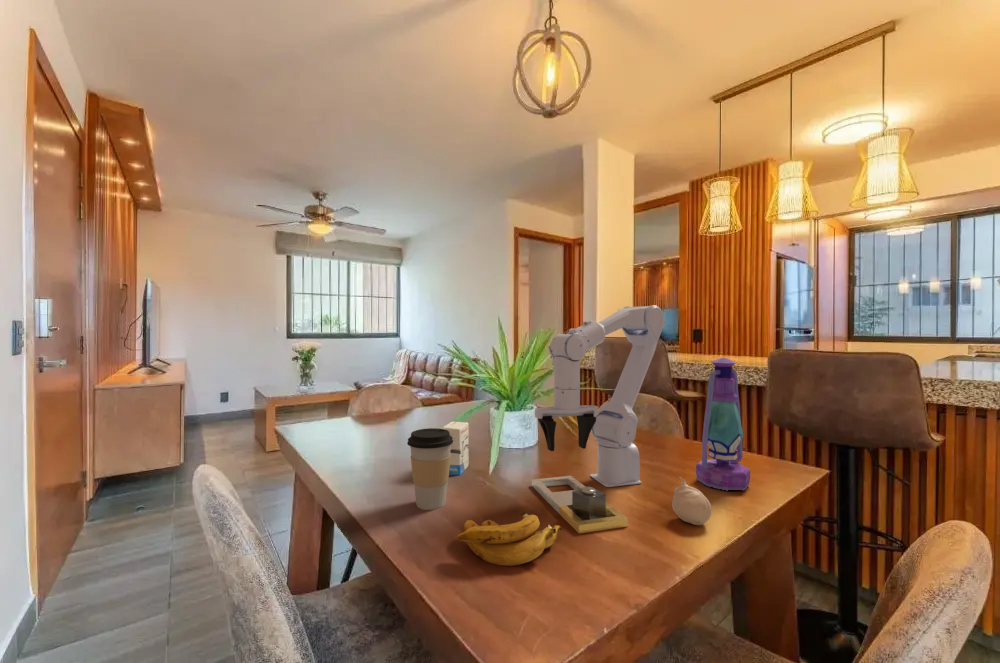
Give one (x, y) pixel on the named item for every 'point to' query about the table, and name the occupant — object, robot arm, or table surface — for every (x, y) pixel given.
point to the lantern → (723, 432)
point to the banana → (508, 540)
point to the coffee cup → (430, 466)
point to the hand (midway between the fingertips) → (566, 448)
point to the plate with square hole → (564, 506)
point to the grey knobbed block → (589, 503)
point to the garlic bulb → (691, 504)
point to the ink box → (458, 447)
